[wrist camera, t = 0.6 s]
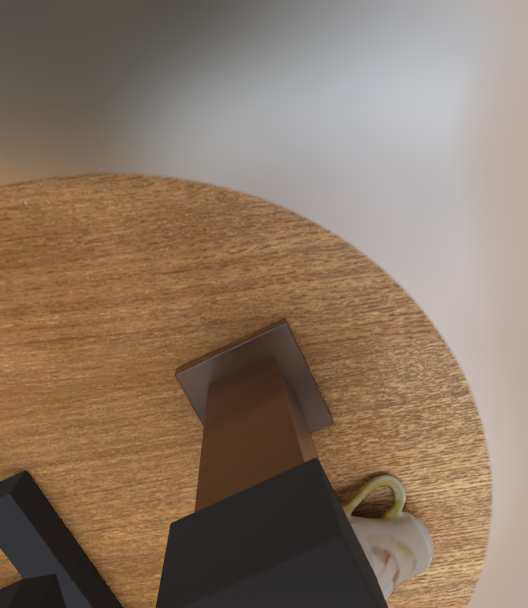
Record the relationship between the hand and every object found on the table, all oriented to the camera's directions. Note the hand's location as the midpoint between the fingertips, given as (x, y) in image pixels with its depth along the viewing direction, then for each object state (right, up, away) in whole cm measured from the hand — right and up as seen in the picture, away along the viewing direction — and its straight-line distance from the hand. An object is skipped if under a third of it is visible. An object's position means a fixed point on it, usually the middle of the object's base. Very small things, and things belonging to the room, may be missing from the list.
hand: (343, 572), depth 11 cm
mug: (+5, -10, +24) cm, 26 cm away
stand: (-2, 0, +20) cm, 20 cm away
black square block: (-1, -3, +7) cm, 7 cm away
